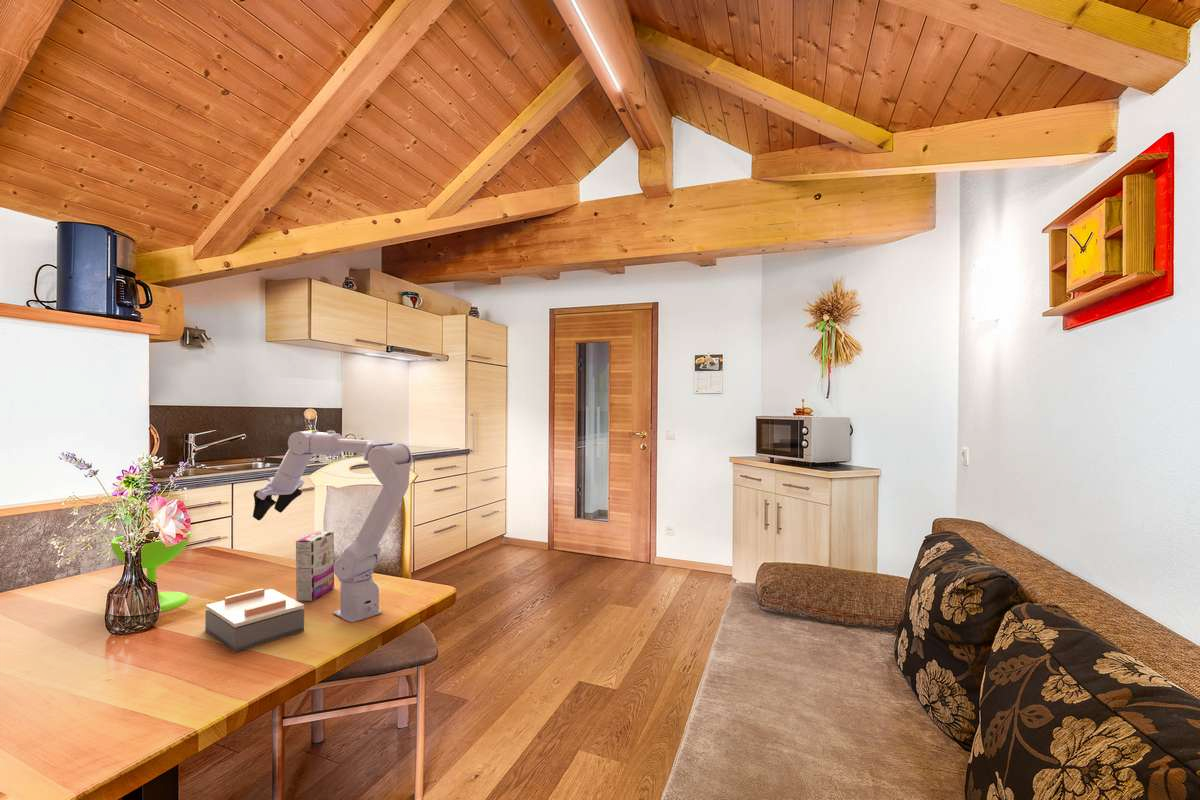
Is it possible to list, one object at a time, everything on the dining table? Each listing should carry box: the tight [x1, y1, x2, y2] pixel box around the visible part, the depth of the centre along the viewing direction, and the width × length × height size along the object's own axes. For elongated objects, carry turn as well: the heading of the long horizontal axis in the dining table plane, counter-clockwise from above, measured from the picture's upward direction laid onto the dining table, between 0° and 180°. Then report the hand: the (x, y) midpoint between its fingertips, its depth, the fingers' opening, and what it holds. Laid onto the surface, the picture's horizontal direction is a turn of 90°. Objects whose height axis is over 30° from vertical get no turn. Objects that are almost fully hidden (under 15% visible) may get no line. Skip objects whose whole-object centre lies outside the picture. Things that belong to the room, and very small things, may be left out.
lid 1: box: [205, 588, 287, 617], centre depth 127 cm, size 9×14×2 cm, turn 142°
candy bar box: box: [295, 530, 335, 602], centre depth 149 cm, size 11×5×16 cm, turn 179°
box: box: [204, 608, 305, 654], centre depth 125 cm, size 18×14×5 cm
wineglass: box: [110, 530, 191, 613], centre depth 141 cm, size 16×16×18 cm
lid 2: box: [220, 595, 305, 627], centre depth 122 cm, size 9×14×2 cm, turn 142°
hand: (267, 514), depth 143 cm, fingers open, 7 cm apart
